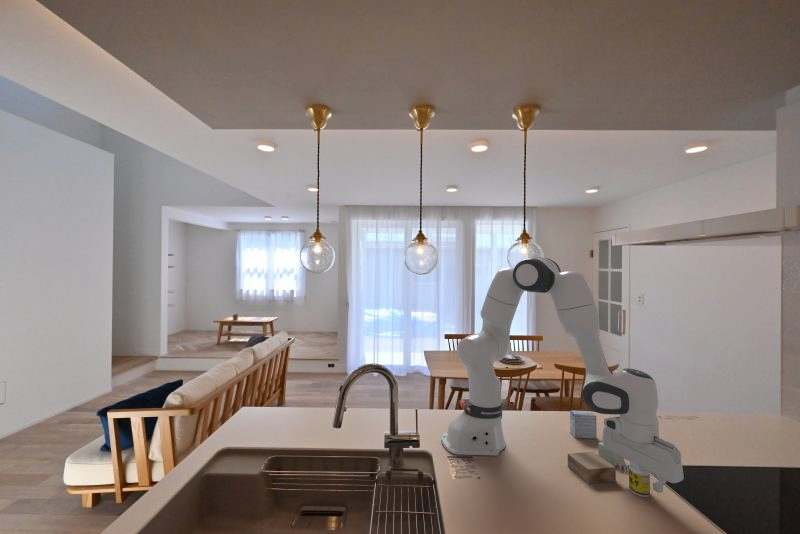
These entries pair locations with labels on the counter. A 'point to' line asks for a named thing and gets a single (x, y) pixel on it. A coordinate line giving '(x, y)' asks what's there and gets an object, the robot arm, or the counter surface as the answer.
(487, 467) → the counter surface
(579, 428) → the medicine box
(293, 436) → the counter surface
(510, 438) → the counter surface
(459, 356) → the robot arm
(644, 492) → the supplement bottle
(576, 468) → the walnut block
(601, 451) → the sage block
